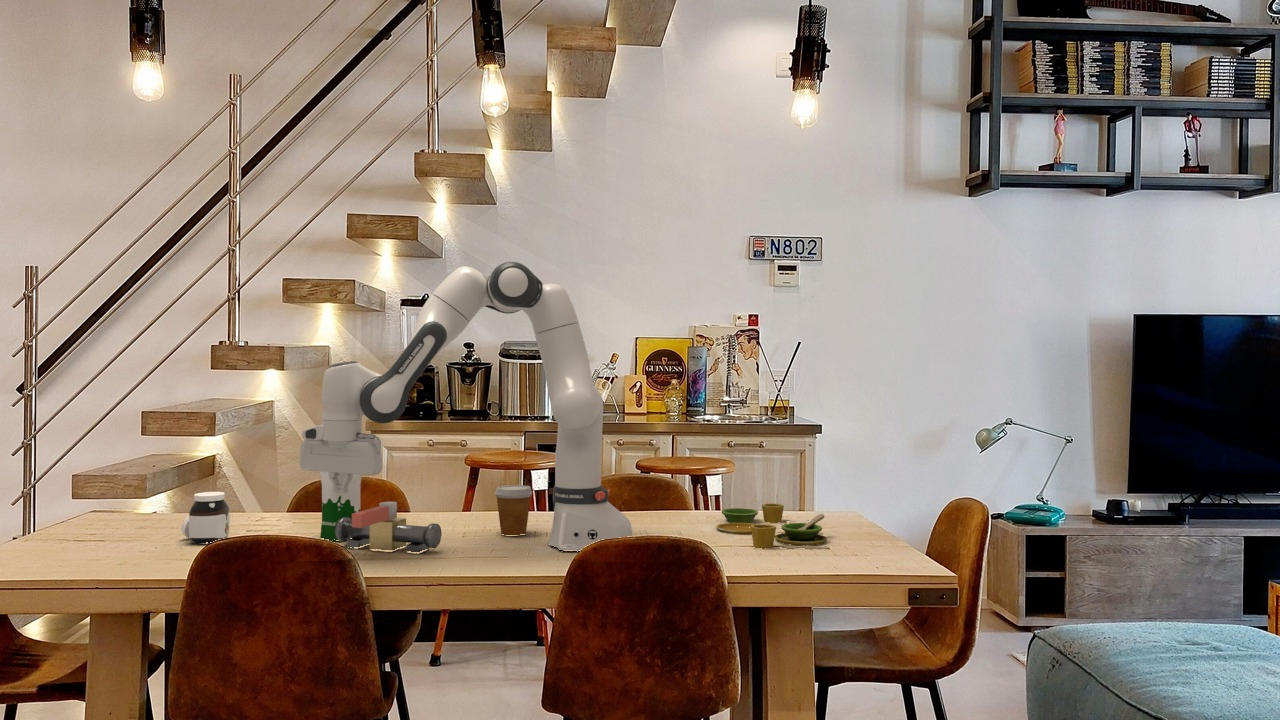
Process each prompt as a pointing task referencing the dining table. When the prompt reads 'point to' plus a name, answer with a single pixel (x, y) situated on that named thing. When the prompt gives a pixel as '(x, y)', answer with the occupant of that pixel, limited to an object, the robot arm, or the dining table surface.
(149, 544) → the dining table surface
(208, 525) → the spread jar
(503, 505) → the disposable coffee cup
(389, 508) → the lever
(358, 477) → the soya milk
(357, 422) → the robot arm
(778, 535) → the tableware set
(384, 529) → the grey pipe with feet
